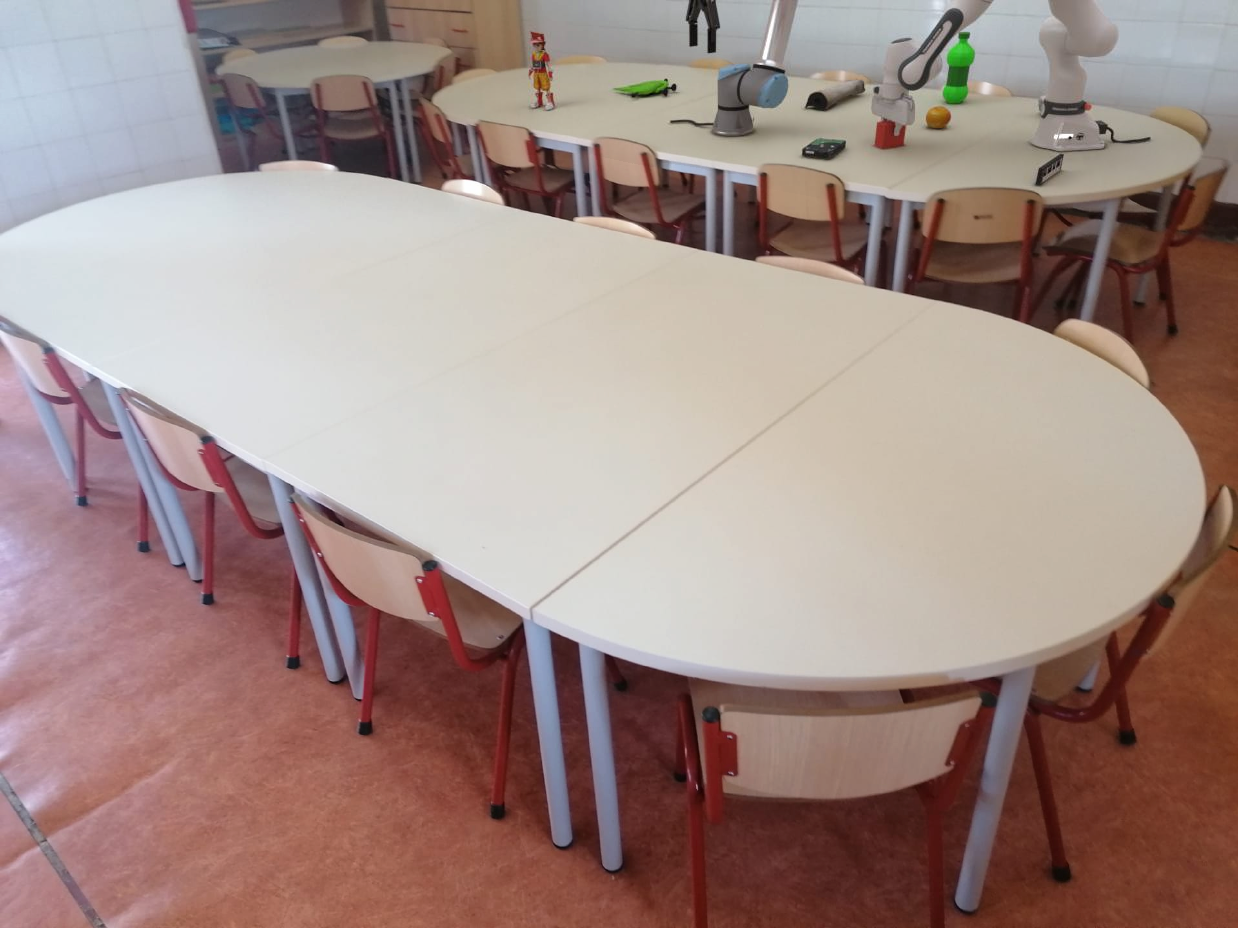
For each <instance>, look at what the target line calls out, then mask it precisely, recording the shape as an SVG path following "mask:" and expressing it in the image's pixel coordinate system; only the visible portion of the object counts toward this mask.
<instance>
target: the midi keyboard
mask: <svg viewBox="0 0 1238 928" xmlns="http://www.w3.org/2000/svg"><path fill="white" fill-rule="evenodd" d="M1064 157H1065V153H1059V154H1058V155H1056V156H1055V157H1052V159H1051V160H1049V161H1047V162H1045V164H1042V165H1041V166H1039V167H1038V169H1037V175H1036V179H1035V186H1040V185H1042V183H1044V182H1045V181H1047V180H1048V179H1049V178H1051V177H1052V176H1054V175H1055V174H1056V173H1058V172H1060V171H1061V170H1062V165H1063V161H1064Z"/></svg>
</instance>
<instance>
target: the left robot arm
mask: <svg viewBox="0 0 1238 928" xmlns="http://www.w3.org/2000/svg"><path fill="white" fill-rule="evenodd" d="M798 2H799V0H772V1H771V6H770V10H769V15H768V19H767V23H766V27H765V31H764V36H763V40H762V43H761V49H760V52H759V57H758V59H757V60H756V61H755V62H753V64H752V67H751V64H750V63H737V64H736V63H735V64H730V65H725V66H722V67H720V68H719V70H718V73H717V74H718V75H717V111H716V114H715V118H714V120H713V122H696V121H695V120H692V119H674V120H673V119H672V120H671V119H670V120H669V123H670V124H675V123H677V124H678V123H691V124H693V125H694V126H698V127H703V126H704V127H705V126H706V127H707V126H710V127H711V126H712V133H713V134H715V135H717V136H721V137H741V136H746V135H750V134H752V133H754V121H755V117H752V115H751V111H750V106H751V107H757V108H758V107H759V108H762V109H775V108H778V107H779V106H780V105H781V104H782V103H783V101H784V100H785V98H786V96H787V94H788V92H789V91H788V90H789V79H788V76H787V75H786V68H785V66H784V60H785V56H786V52H787V47H788V44H789V40H790V35H791V31H792V27H793V23H794V19H795V15H796V10H797V7H798ZM701 11H702V12H703V14H704V18H705V21H706V24H707V30H706V31H707V35H706V36H707V38H706V39H707V43H706V44H707V46H706V48H707V50H706V51H707V52H706V53H707V54H714V53H717V31H718V30H719V29H721V24H720V23H721V22H720V17H719V12H718V8H717V0H688V4H687V9H686V16H685V22H687V23H688V42H689V43H688V47H689V48H693V47H698V45H699V32H698V31H699V30H698V29H699V27H698V23H699V21H698V19H699V16H700V14H701Z"/></svg>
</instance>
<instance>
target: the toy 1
mask: <svg viewBox="0 0 1238 928" xmlns="http://www.w3.org/2000/svg"><path fill="white" fill-rule="evenodd" d="M529 33H530V35H531V36H528V37H527V38H528V39H529V40H528V41H527V43H529V44H530V43H531V44H532V48H533V50H534V51H533V52H532V55H531V58H530V59H531V63H530V66H528V74H527V75H528V76H527V77H528V79H529V80H531V75H532V74H533V84H532V85H533V86H532V87H533V88H534V89H535V90H536V92H534V95H535V97H536V100H535V101H533V102H531V105H530V108H531V109H535V108H538V107H542V106H544V101H543V100H544V99H543V95H544V92H546V94H545V97H546V99H547V103H546V104H545V106H544V110H546V111H549V110H553V109H554V107H555V106H556V105H555V99H554V92H551V91H550V90H551V86H552V84H551V82H552V81H553V80H554V77H553V73H554V71H555V70H554V69H552V68H551V63H550V61H551V59H550V58H551V57H550V54H549V53H548V52H547V50H546V48H545V46H546V44H547V41H545V35H544V33H543V32H542V33H539V32H535V31H529Z"/></svg>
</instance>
